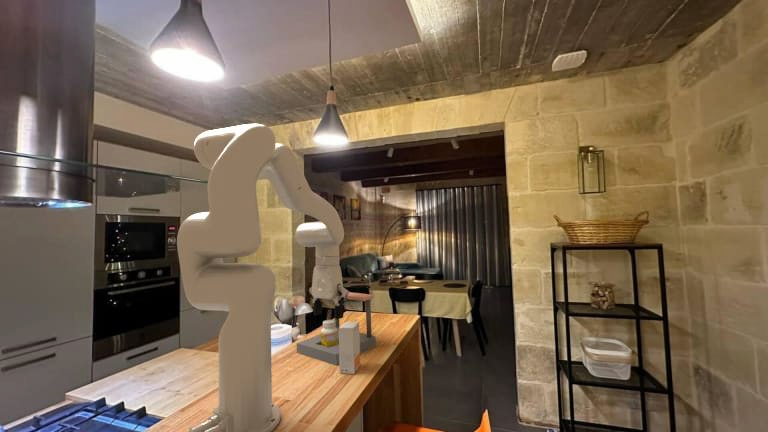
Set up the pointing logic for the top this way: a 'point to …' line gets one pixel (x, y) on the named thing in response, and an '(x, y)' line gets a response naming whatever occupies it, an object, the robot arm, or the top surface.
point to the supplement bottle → (329, 334)
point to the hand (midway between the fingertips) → (328, 316)
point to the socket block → (331, 354)
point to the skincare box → (349, 347)
